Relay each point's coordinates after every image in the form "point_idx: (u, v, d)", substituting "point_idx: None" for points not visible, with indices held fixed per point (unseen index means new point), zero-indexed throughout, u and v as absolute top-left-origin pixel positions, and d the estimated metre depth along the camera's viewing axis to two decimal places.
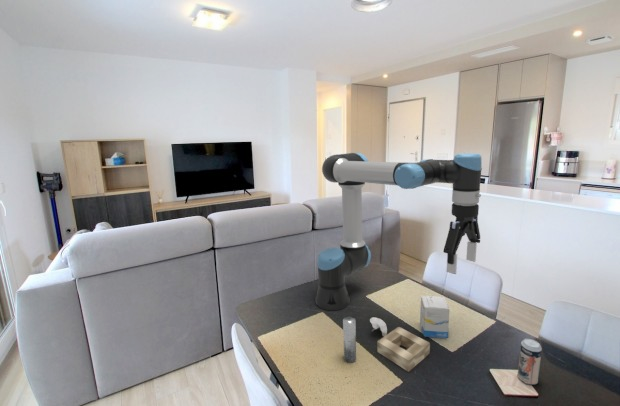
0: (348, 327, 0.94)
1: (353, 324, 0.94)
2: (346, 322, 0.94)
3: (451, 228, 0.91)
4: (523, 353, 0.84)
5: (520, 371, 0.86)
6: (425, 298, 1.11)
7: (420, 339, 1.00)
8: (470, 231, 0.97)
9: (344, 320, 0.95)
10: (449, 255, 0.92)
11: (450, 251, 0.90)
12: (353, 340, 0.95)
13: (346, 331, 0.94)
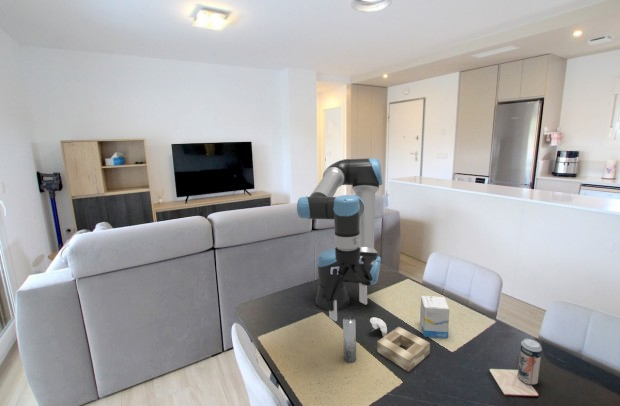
0: (348, 327, 0.94)
1: (353, 324, 0.94)
2: (346, 322, 0.94)
3: (330, 274, 0.88)
4: (523, 353, 0.84)
5: (520, 371, 0.86)
6: (425, 298, 1.11)
7: (420, 339, 1.00)
8: (357, 274, 0.94)
9: (344, 320, 0.95)
10: (328, 302, 0.88)
11: (326, 299, 0.86)
12: (353, 340, 0.95)
13: (346, 331, 0.94)
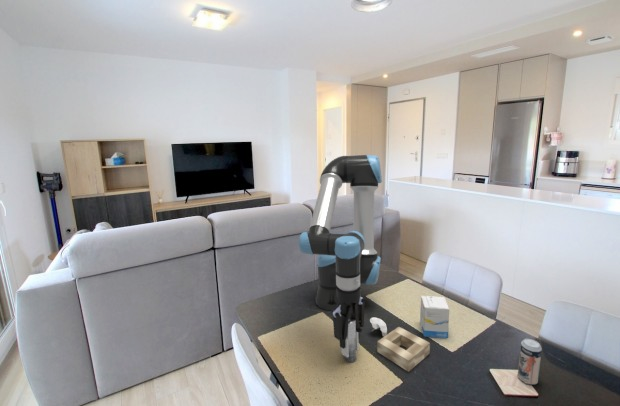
0: (348, 327, 0.94)
1: (353, 324, 0.94)
2: None
3: (334, 317, 0.92)
4: (523, 353, 0.84)
5: (520, 371, 0.86)
6: (425, 298, 1.11)
7: (420, 339, 1.00)
8: (353, 315, 0.96)
9: None
10: (340, 339, 0.94)
11: (339, 338, 0.92)
12: (353, 340, 0.95)
13: None
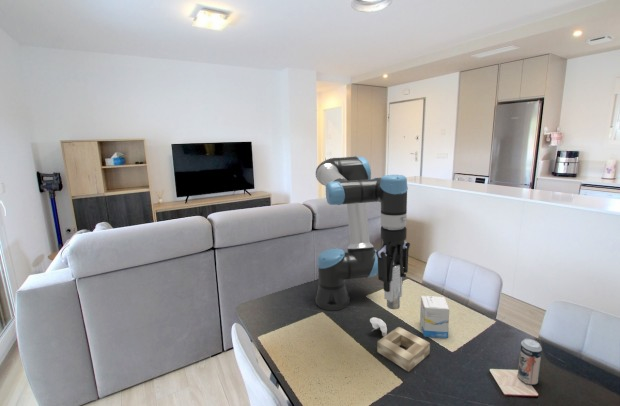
0: (392, 271, 0.91)
1: (398, 268, 0.91)
2: None
3: (379, 257, 0.89)
4: (523, 353, 0.84)
5: (520, 371, 0.86)
6: (425, 298, 1.11)
7: (420, 339, 1.00)
8: (398, 258, 0.92)
9: None
10: (384, 283, 0.91)
11: (384, 279, 0.89)
12: (398, 286, 0.92)
13: None
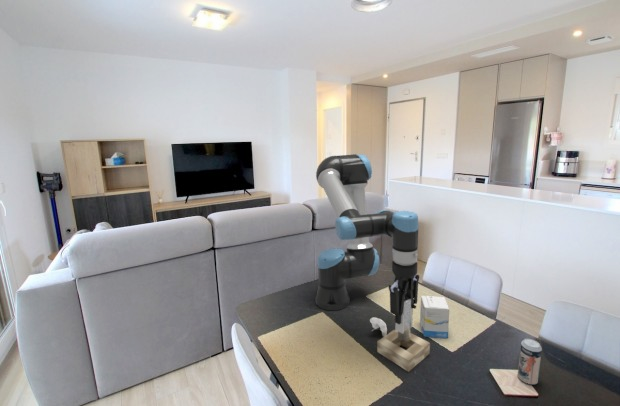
0: (404, 305, 0.94)
1: (409, 302, 0.94)
2: None
3: (391, 292, 0.92)
4: (523, 353, 0.84)
5: (520, 371, 0.86)
6: (425, 298, 1.11)
7: (420, 339, 1.00)
8: (408, 291, 0.95)
9: None
10: (396, 315, 0.94)
11: (396, 313, 0.92)
12: (409, 319, 0.95)
13: None
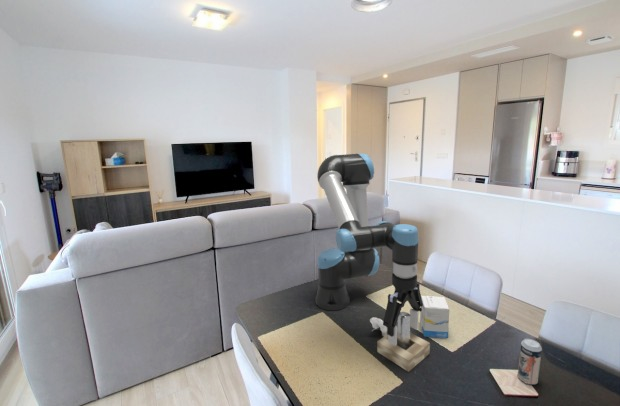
0: (404, 322, 0.95)
1: (409, 319, 0.95)
2: (401, 317, 0.96)
3: (389, 301, 0.92)
4: (523, 353, 0.84)
5: (520, 371, 0.86)
6: (425, 298, 1.11)
7: (420, 339, 1.00)
8: (411, 300, 0.97)
9: (399, 315, 0.97)
10: (389, 327, 0.93)
11: (388, 325, 0.90)
12: (408, 335, 0.96)
13: (401, 326, 0.96)
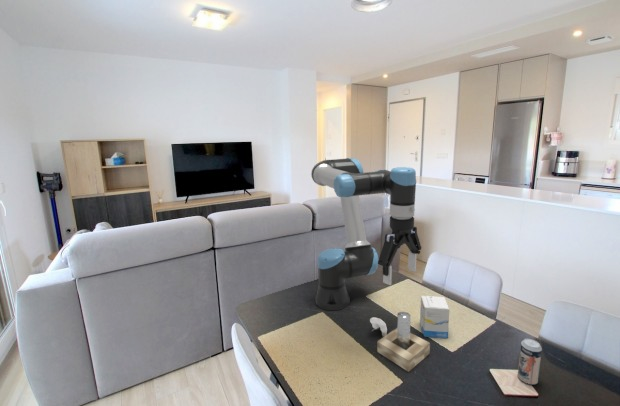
0: (404, 322, 0.95)
1: (409, 319, 0.95)
2: (401, 317, 0.96)
3: (386, 241, 0.93)
4: (523, 353, 0.84)
5: (520, 371, 0.86)
6: (425, 298, 1.11)
7: (420, 339, 1.00)
8: (409, 243, 0.99)
9: (399, 315, 0.97)
10: (384, 267, 0.94)
11: (383, 263, 0.92)
12: (408, 335, 0.96)
13: (401, 326, 0.96)
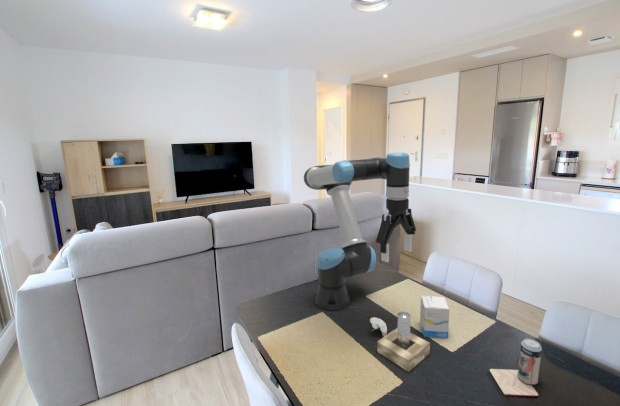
0: (404, 322, 0.95)
1: (409, 319, 0.95)
2: (401, 317, 0.96)
3: (383, 220, 1.01)
4: (523, 353, 0.84)
5: (520, 371, 0.86)
6: (425, 298, 1.11)
7: (420, 339, 1.00)
8: (404, 223, 1.07)
9: (400, 315, 0.97)
10: (381, 245, 1.01)
11: (381, 241, 0.99)
12: (408, 335, 0.96)
13: (401, 326, 0.96)
